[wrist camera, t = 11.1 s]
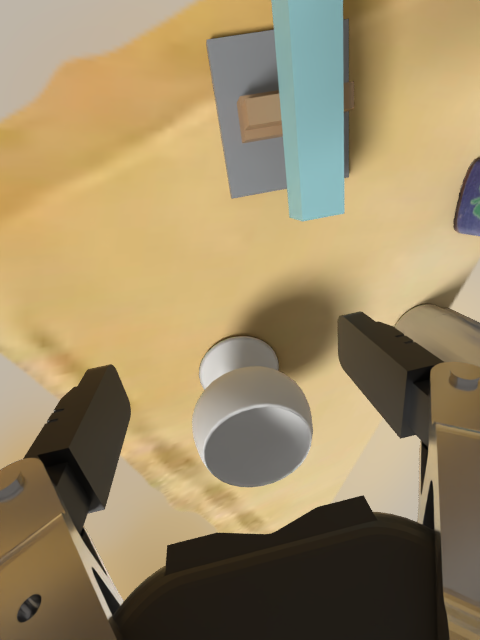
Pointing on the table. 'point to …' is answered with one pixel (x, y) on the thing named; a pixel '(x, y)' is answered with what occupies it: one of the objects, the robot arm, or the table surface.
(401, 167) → the table surface
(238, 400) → the chalice
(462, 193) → the flask
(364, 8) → the table surface
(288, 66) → the batten
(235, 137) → the fulcrum
